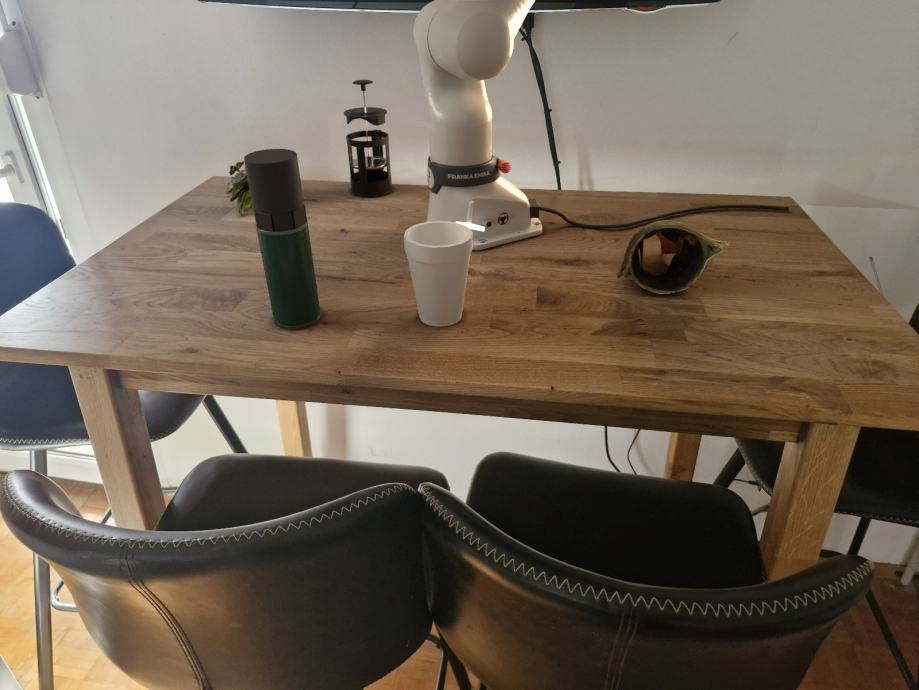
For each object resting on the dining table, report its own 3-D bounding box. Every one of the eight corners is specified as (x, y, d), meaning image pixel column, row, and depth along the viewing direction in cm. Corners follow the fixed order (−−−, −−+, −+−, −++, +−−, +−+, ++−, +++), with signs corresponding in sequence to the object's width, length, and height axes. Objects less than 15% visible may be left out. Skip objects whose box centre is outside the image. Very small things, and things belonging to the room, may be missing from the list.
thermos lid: (302, 210, 91) (293, 146, 86) (309, 227, 86) (300, 159, 81) (254, 217, 89) (241, 151, 84) (258, 234, 84) (246, 165, 79)
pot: (691, 200, 110) (726, 203, 93) (707, 262, 113) (744, 277, 95) (593, 232, 113) (609, 241, 95) (610, 293, 115) (629, 313, 98)
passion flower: (248, 227, 140) (246, 173, 141) (293, 221, 137) (291, 166, 138) (215, 214, 129) (214, 155, 130) (263, 207, 126) (261, 147, 127)
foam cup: (449, 338, 90) (447, 253, 83) (396, 321, 94) (390, 238, 87) (483, 310, 97) (484, 228, 90) (432, 295, 101) (429, 216, 94)
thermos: (316, 303, 99) (301, 196, 90) (324, 324, 94) (308, 213, 85) (271, 311, 97) (250, 203, 88) (276, 333, 92) (255, 220, 83)
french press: (383, 200, 138) (375, 86, 126) (342, 197, 140) (330, 84, 128) (401, 183, 147) (394, 75, 135) (362, 180, 149) (353, 74, 137)
